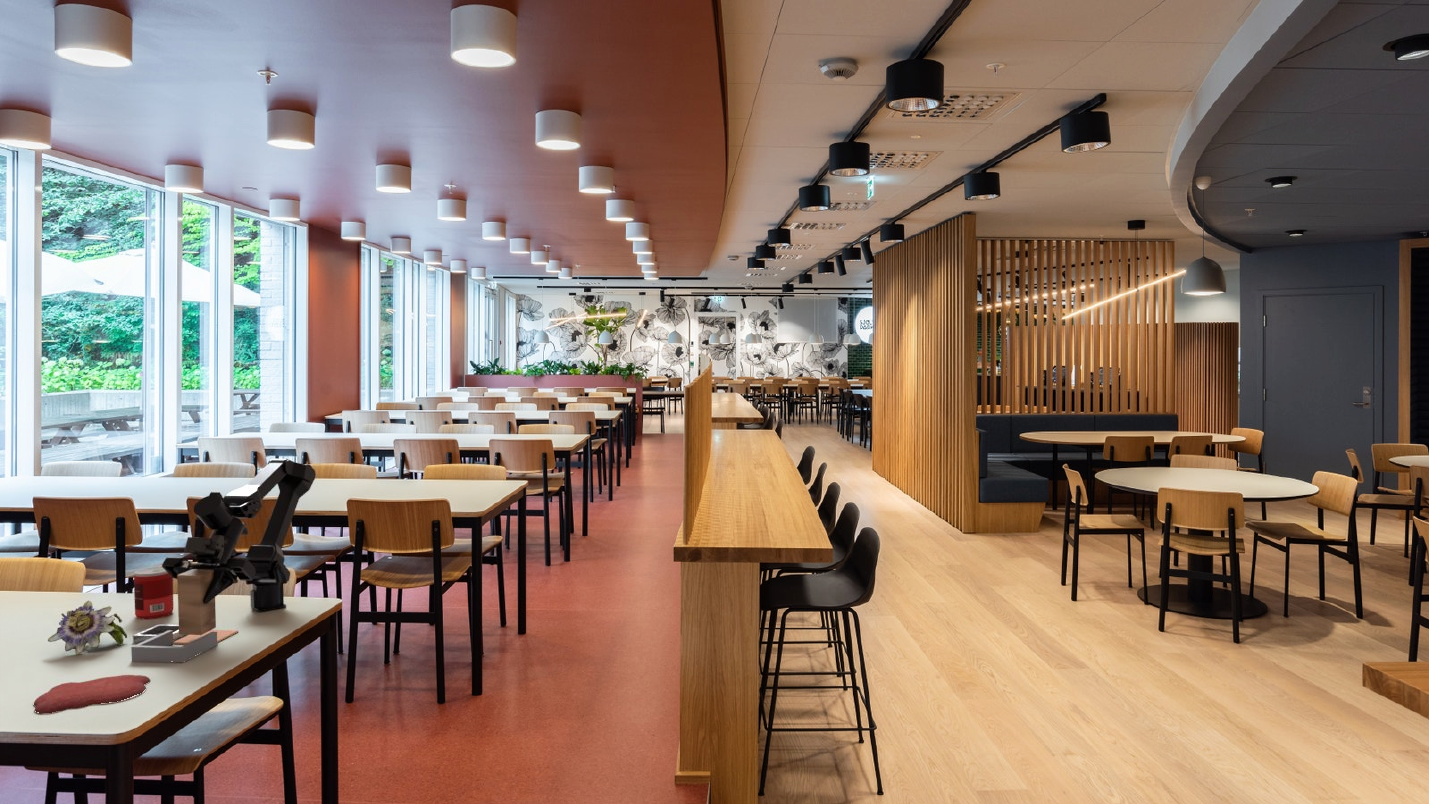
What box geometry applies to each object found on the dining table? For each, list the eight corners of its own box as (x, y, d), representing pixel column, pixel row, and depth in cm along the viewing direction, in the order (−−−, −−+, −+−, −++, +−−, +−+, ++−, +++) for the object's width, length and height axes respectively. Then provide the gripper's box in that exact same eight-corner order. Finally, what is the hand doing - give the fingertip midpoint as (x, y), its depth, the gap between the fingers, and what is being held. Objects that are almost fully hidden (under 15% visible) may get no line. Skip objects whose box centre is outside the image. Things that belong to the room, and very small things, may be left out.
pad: (200, 631, 198) (200, 629, 198) (238, 632, 198) (238, 630, 198) (173, 644, 190) (173, 642, 190) (212, 645, 189) (212, 643, 189)
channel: (168, 643, 190) (168, 630, 189) (217, 645, 189) (217, 631, 189) (131, 661, 179) (131, 646, 178) (183, 662, 178) (182, 648, 178)
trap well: (158, 630, 199) (158, 624, 199) (192, 631, 198) (192, 625, 198) (133, 642, 191) (133, 635, 191) (168, 643, 190) (168, 636, 190)
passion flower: (81, 678, 184) (37, 640, 178) (90, 654, 193) (49, 617, 188) (131, 644, 186) (89, 606, 181) (138, 621, 196) (99, 584, 191)
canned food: (181, 610, 214) (179, 566, 214) (157, 620, 207) (155, 574, 206) (152, 609, 215) (150, 565, 215) (127, 619, 207) (125, 573, 207)
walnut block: (194, 626, 194) (192, 569, 193) (215, 627, 193) (214, 569, 192) (178, 634, 189) (177, 575, 188) (201, 635, 188) (199, 575, 187)
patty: (26, 720, 151) (26, 708, 151) (41, 693, 163) (40, 682, 163) (146, 701, 159) (146, 690, 159) (152, 676, 172) (151, 666, 171)
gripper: (165, 520, 194) (131, 583, 184) (246, 522, 193) (216, 584, 182) (190, 547, 202) (158, 608, 192) (268, 549, 201) (240, 610, 191)
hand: (192, 602), depth 189 cm, fingers closed on walnut block, 5 cm apart
